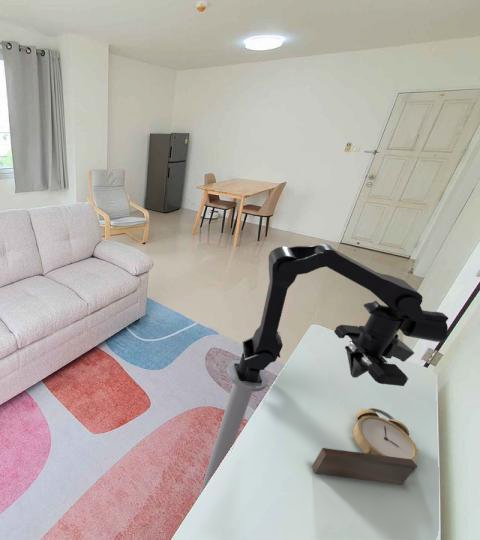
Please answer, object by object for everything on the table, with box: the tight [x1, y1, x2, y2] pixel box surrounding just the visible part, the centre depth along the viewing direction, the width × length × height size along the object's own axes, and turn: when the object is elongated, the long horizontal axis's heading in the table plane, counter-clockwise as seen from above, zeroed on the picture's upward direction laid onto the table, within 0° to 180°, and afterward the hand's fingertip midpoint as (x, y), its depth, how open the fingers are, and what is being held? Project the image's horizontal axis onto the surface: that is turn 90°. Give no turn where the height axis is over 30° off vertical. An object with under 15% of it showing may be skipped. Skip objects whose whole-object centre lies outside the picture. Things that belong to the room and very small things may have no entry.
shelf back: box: [311, 447, 418, 486], centre depth 63 cm, size 2×18×7 cm, turn 84°
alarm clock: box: [352, 407, 419, 462], centre depth 71 cm, size 11×5×15 cm
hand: (353, 376), depth 78 cm, fingers closed
